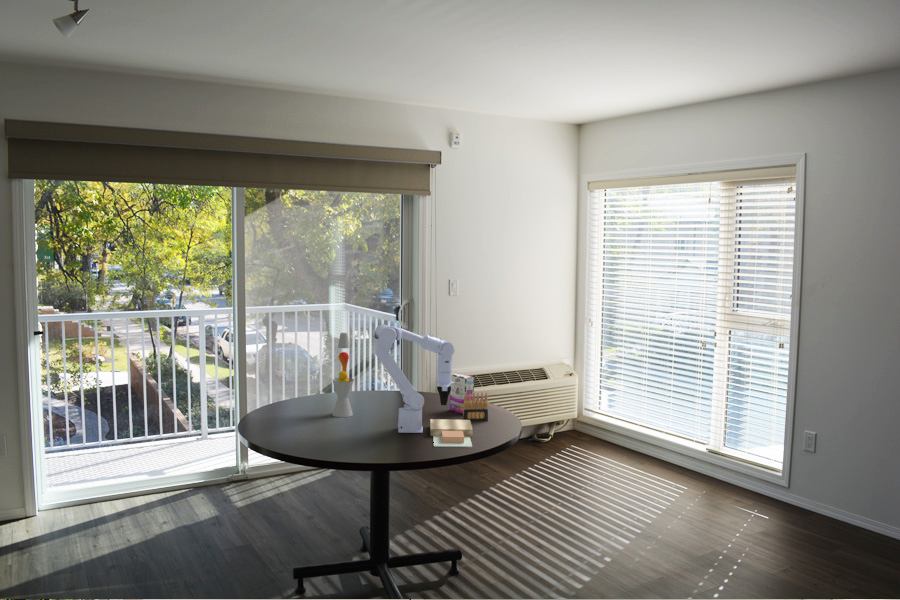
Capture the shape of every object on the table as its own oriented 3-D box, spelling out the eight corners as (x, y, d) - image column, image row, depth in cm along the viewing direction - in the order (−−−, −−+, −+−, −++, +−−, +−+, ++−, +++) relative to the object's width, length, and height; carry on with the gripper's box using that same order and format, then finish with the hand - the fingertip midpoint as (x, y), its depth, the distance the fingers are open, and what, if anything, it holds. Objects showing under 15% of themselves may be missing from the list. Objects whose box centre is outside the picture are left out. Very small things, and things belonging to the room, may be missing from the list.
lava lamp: (333, 411, 276) (334, 331, 274) (354, 411, 277) (355, 331, 274) (330, 417, 267) (331, 334, 265) (352, 417, 268) (353, 334, 265)
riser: (430, 436, 244) (430, 428, 244) (430, 426, 258) (430, 419, 258) (472, 437, 245) (472, 429, 245) (469, 427, 259) (469, 419, 258)
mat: (433, 446, 232) (433, 445, 232) (433, 437, 244) (433, 436, 244) (472, 447, 232) (472, 446, 232) (469, 437, 244) (469, 436, 244)
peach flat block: (442, 442, 236) (442, 436, 236) (441, 436, 244) (441, 430, 243) (464, 442, 236) (464, 437, 236) (462, 436, 244) (462, 430, 244)
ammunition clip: (463, 421, 267) (464, 393, 266) (462, 420, 269) (463, 392, 268) (488, 421, 269) (489, 393, 268) (486, 419, 271) (487, 391, 270)
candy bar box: (473, 414, 280) (474, 377, 278) (464, 415, 277) (465, 378, 275) (458, 408, 288) (459, 372, 287) (449, 410, 285) (450, 373, 284)
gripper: (455, 375, 247) (454, 409, 248) (453, 368, 262) (452, 400, 263) (437, 374, 247) (436, 409, 248) (436, 367, 262) (435, 400, 263)
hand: (443, 404), depth 256 cm, fingers closed
